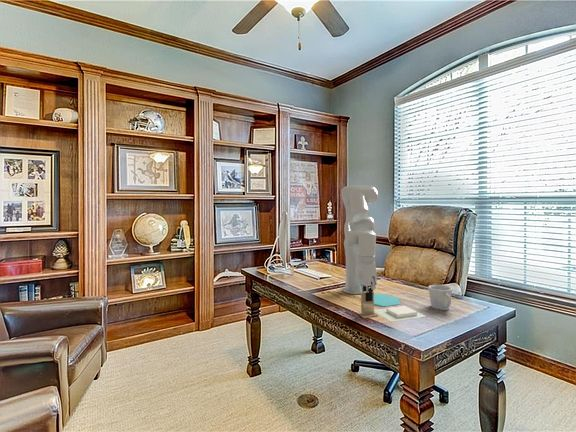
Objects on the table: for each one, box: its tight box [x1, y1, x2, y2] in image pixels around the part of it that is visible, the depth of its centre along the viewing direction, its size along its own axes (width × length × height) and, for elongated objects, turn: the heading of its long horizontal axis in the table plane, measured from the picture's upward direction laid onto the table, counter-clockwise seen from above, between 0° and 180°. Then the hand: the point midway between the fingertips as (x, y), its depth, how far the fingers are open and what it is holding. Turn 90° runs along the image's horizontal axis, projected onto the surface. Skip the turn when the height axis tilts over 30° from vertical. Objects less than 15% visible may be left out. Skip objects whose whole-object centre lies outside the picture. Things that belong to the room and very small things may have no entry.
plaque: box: [374, 292, 401, 308], centre depth 166 cm, size 18×2×20 cm
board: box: [374, 307, 427, 322], centre depth 147 cm, size 15×18×1 cm
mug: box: [428, 284, 453, 311], centre depth 152 cm, size 10×15×10 cm
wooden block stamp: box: [357, 291, 379, 319], centre depth 146 cm, size 6×7×11 cm
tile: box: [385, 305, 418, 318], centre depth 147 cm, size 2×10×9 cm
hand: (367, 299), depth 146 cm, fingers closed on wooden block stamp, 2 cm apart
